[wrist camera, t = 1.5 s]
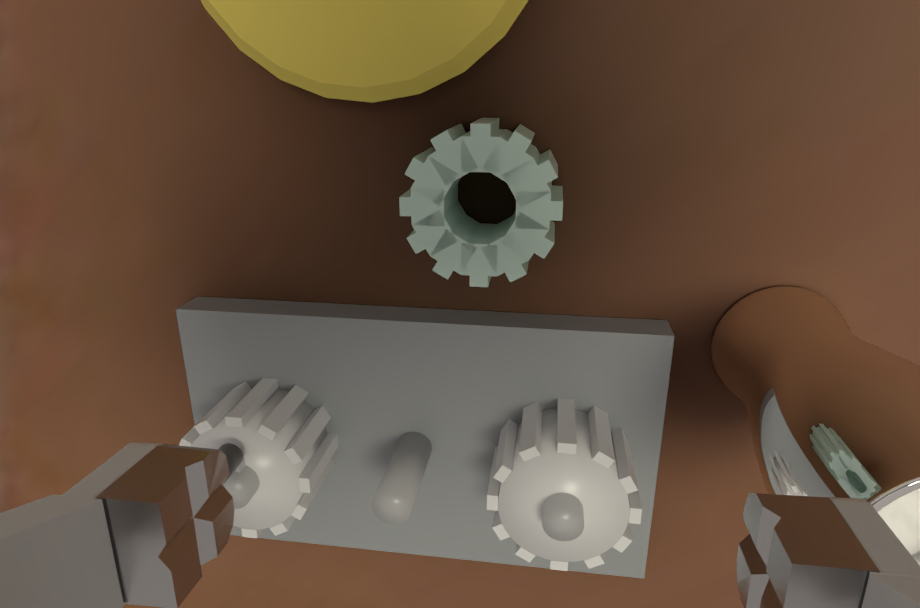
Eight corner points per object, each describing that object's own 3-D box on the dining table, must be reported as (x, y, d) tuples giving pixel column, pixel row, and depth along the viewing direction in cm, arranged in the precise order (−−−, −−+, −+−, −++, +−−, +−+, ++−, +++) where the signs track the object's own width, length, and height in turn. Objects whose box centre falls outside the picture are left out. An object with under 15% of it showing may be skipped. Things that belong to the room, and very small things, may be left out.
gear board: (229, 511, 39) (143, 624, 31) (196, 296, 34) (84, 364, 26) (639, 552, 35) (663, 691, 27) (667, 320, 30) (706, 406, 22)
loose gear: (417, 117, 29) (396, 122, 25) (566, 118, 28) (567, 124, 24) (420, 258, 31) (402, 283, 28) (558, 264, 30) (558, 290, 27)
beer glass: (677, 381, 31) (772, 623, 18) (740, 255, 29) (912, 420, 15) (809, 427, 31) (1013, 709, 17) (886, 305, 29) (1196, 519, 15)
